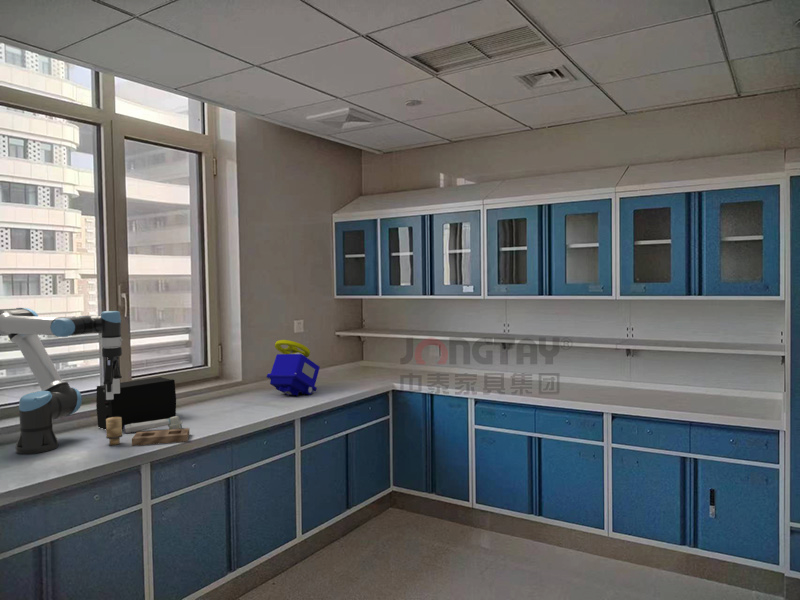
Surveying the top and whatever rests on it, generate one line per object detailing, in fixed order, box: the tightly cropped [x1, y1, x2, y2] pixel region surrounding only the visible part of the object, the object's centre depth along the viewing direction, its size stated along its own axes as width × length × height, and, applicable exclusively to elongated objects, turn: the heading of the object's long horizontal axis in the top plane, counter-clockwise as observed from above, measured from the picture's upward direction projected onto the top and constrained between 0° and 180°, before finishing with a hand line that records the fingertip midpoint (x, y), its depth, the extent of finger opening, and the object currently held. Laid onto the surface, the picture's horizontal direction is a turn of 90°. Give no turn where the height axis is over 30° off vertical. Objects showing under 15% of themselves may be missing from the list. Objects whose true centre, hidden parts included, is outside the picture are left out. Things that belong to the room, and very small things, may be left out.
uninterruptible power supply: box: [95, 376, 177, 430], centre depth 291 cm, size 16×34×20 cm, turn 140°
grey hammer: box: [123, 415, 183, 434], centre depth 276 cm, size 5×7×25 cm
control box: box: [266, 339, 321, 397], centre depth 361 cm, size 26×27×30 cm
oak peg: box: [105, 417, 123, 446], centre depth 254 cm, size 6×6×11 cm
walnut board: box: [131, 427, 191, 447], centre depth 259 cm, size 22×12×3 cm, turn 104°
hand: (113, 396), depth 254 cm, fingers open, 13 cm apart
